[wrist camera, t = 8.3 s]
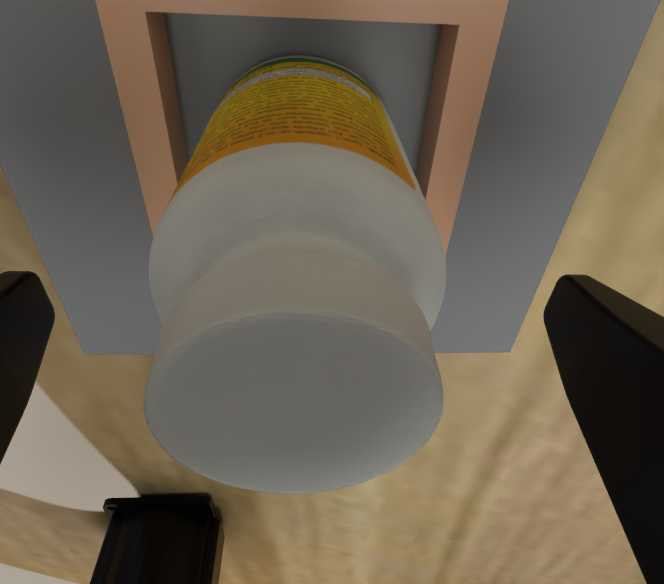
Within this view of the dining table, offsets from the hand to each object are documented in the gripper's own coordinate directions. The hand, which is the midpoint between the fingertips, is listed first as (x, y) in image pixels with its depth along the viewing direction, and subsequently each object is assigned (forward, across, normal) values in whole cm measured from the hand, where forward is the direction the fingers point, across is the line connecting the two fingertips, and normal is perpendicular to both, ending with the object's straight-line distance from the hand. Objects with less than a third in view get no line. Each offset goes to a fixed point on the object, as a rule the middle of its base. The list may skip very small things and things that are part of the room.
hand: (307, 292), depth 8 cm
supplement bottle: (+7, 0, 0) cm, 7 cm away
